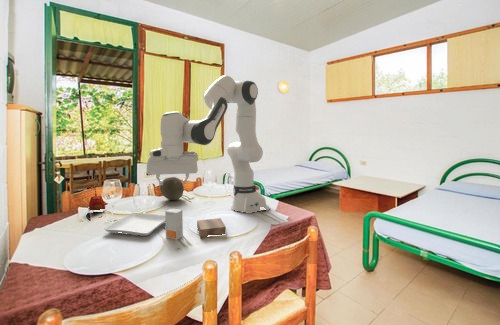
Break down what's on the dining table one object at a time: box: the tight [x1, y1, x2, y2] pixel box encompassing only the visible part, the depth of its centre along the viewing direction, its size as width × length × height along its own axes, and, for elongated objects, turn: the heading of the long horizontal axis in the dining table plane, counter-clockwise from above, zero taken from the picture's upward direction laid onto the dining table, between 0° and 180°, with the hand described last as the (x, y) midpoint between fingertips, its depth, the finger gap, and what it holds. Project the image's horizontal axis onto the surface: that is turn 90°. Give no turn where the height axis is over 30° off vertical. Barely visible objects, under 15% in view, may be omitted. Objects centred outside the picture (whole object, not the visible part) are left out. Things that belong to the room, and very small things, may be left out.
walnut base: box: [196, 217, 227, 239], centre depth 117 cm, size 11×11×4 cm
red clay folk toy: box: [88, 184, 106, 211], centre depth 140 cm, size 8×7×15 cm
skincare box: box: [164, 208, 184, 241], centre depth 110 cm, size 6×4×12 cm
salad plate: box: [103, 212, 166, 237], centre depth 120 cm, size 21×21×3 cm
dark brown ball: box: [159, 176, 185, 201], centre depth 164 cm, size 14×14×15 cm
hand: (173, 184), depth 108 cm, fingers open, 8 cm apart
